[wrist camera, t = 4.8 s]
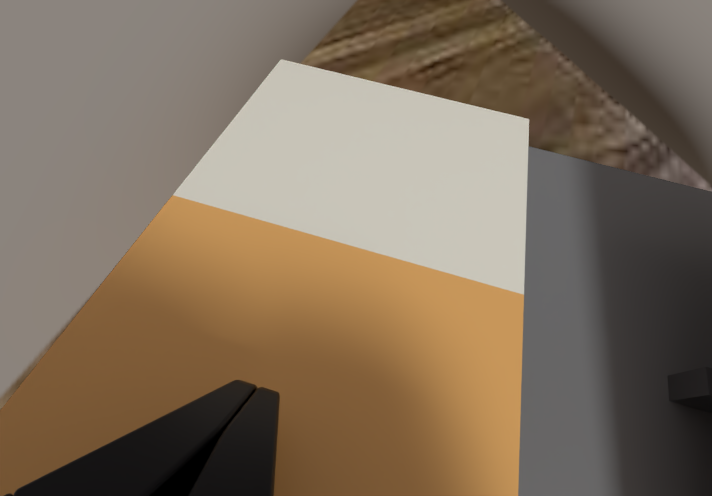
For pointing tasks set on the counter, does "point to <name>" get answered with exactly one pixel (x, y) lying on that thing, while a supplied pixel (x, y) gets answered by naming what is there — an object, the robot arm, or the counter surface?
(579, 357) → the switch strip
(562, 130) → the counter surface
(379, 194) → the orange and white panel
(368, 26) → the counter surface
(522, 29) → the counter surface
